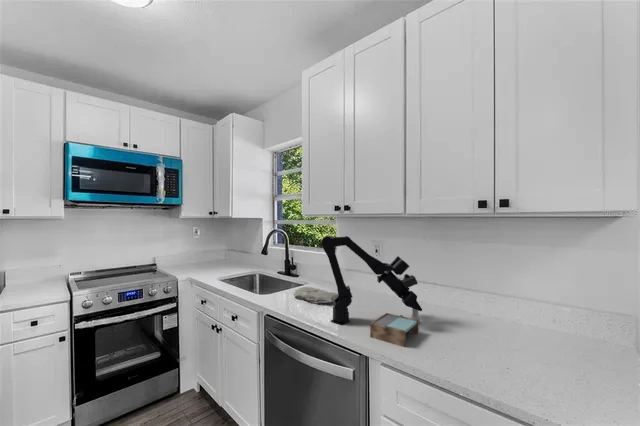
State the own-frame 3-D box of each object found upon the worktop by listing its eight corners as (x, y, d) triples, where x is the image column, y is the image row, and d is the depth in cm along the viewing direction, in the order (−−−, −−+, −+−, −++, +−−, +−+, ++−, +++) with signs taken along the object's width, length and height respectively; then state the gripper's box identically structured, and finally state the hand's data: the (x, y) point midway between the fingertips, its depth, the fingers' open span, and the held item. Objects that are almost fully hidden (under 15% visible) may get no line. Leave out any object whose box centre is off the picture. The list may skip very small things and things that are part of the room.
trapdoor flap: (374, 327, 114) (374, 322, 114) (387, 318, 124) (387, 314, 124) (405, 335, 107) (405, 330, 107) (416, 325, 116) (416, 321, 116)
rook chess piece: (422, 322, 130) (422, 304, 130) (418, 325, 126) (418, 306, 126) (412, 319, 133) (412, 302, 133) (408, 322, 129) (408, 304, 129)
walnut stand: (369, 337, 114) (369, 322, 114) (387, 325, 126) (387, 311, 126) (403, 347, 105) (403, 331, 105) (419, 333, 117) (419, 319, 118)
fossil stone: (342, 302, 159) (342, 293, 159) (324, 309, 149) (324, 298, 149) (307, 293, 179) (307, 284, 179) (289, 297, 168) (289, 288, 168)
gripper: (412, 274, 120) (438, 300, 120) (400, 266, 139) (424, 289, 139) (393, 292, 121) (419, 319, 120) (384, 282, 139) (407, 305, 139)
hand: (418, 307), depth 130 cm, fingers open, 9 cm apart
